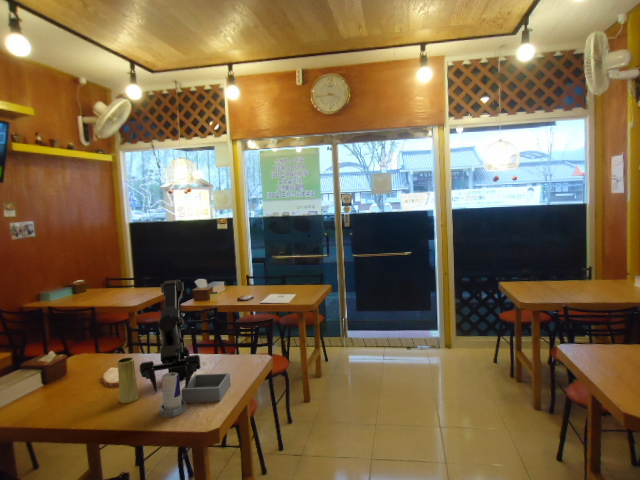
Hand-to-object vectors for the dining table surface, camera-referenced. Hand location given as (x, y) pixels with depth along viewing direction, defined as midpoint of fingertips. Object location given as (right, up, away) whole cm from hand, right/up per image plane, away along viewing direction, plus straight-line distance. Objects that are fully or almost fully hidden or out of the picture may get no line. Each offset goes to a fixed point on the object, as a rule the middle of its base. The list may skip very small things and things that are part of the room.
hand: (171, 390), depth 137 cm
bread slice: (-32, -8, +35) cm, 48 cm away
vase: (-19, -8, +13) cm, 24 cm away
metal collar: (0, -7, +1) cm, 7 cm away
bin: (+8, -6, +14) cm, 17 cm away
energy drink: (0, -7, +1) cm, 8 cm away
